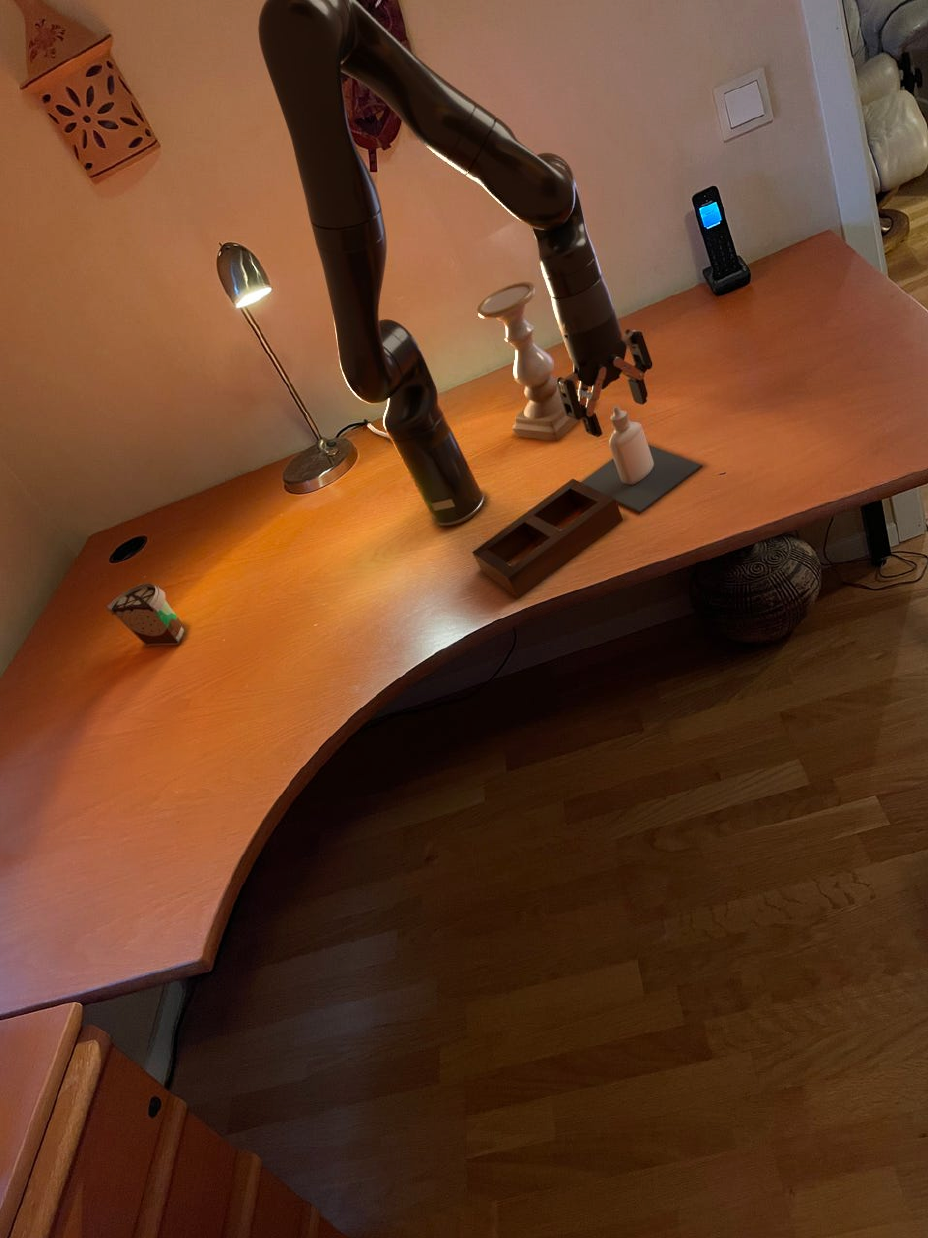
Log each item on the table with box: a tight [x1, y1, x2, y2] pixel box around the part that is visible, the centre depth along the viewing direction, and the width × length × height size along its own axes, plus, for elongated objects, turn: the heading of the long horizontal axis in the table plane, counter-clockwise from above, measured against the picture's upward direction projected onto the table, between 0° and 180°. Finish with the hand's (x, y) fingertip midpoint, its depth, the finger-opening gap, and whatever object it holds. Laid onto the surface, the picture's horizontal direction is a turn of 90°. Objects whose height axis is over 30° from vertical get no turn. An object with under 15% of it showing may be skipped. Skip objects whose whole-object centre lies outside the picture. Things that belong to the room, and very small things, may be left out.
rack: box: [471, 478, 624, 600], centre depth 121 cm, size 11×19×4 cm, turn 118°
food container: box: [107, 582, 187, 646], centre depth 148 cm, size 12×6×10 cm, turn 65°
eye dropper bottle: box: [608, 405, 654, 485], centre depth 122 cm, size 4×6×12 cm
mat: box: [580, 444, 703, 514], centre depth 126 cm, size 15×12×1 cm
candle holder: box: [476, 281, 580, 442], centre depth 143 cm, size 11×11×24 cm
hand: (618, 418), depth 120 cm, fingers open, 8 cm apart
